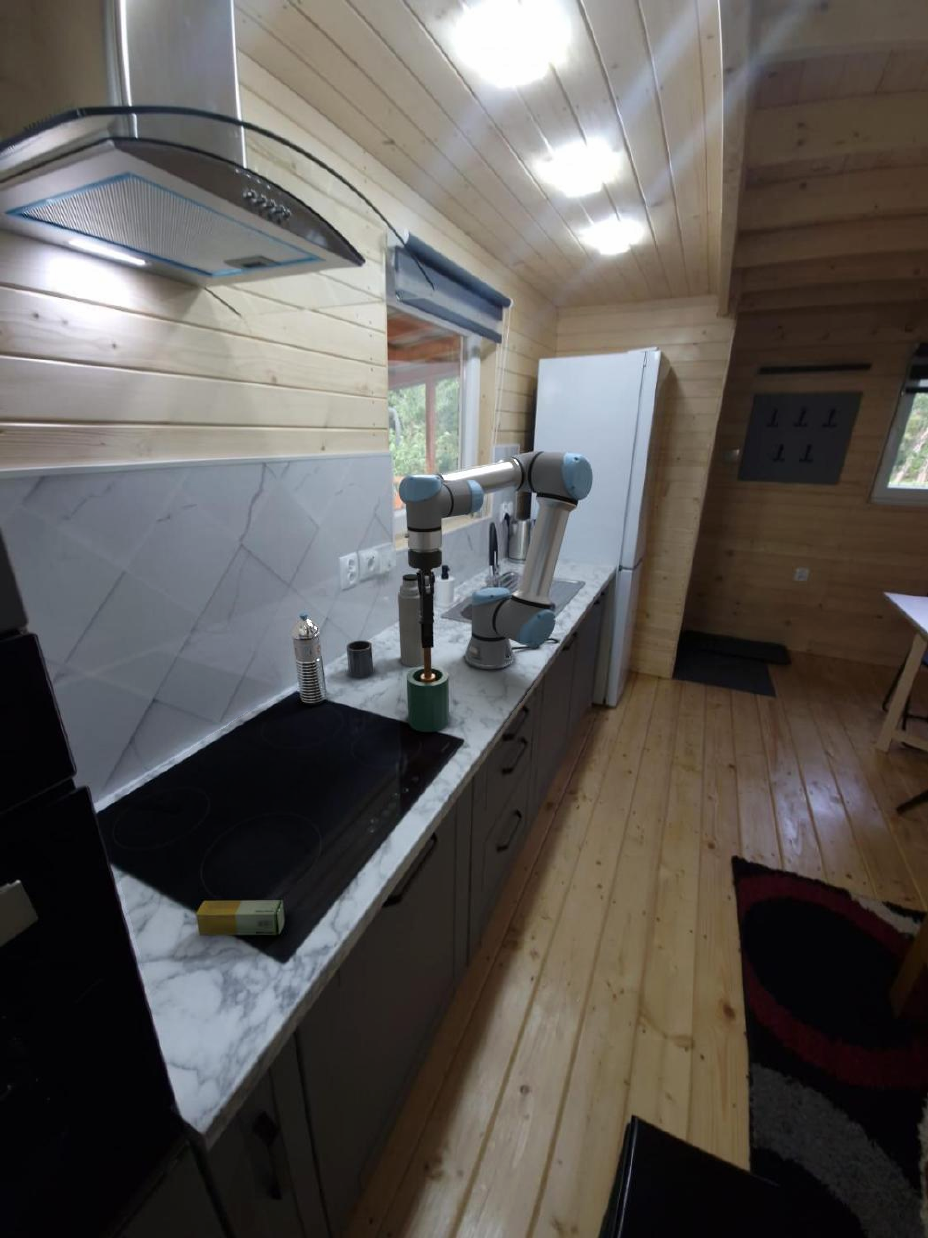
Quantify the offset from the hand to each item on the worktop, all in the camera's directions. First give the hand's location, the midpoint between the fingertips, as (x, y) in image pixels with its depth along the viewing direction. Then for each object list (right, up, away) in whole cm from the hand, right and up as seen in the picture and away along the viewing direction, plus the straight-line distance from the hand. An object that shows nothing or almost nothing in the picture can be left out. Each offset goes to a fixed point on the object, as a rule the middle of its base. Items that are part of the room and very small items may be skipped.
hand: (427, 644), depth 118 cm
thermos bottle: (-7, -7, +39) cm, 40 cm away
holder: (-22, -10, +31) cm, 39 cm away
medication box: (-24, -41, -43) cm, 64 cm away
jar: (0, -20, +8) cm, 21 cm away
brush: (0, -14, +6) cm, 15 cm away
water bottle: (-32, -16, +17) cm, 39 cm away
